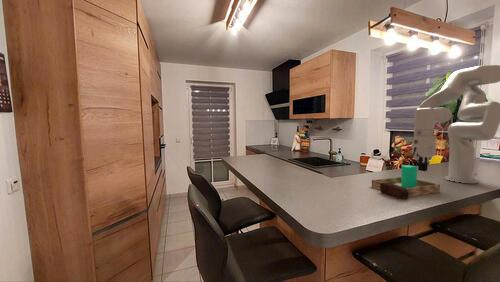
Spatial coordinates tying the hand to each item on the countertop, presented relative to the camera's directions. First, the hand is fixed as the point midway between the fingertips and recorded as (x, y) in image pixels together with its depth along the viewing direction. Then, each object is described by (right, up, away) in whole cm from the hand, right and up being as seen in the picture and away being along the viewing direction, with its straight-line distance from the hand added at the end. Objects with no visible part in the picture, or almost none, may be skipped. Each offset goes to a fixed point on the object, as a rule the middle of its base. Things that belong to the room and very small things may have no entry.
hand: (422, 170), depth 103 cm
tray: (-11, -9, -3) cm, 14 cm away
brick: (-22, -10, -11) cm, 26 cm away
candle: (-8, -8, -2) cm, 12 cm away
